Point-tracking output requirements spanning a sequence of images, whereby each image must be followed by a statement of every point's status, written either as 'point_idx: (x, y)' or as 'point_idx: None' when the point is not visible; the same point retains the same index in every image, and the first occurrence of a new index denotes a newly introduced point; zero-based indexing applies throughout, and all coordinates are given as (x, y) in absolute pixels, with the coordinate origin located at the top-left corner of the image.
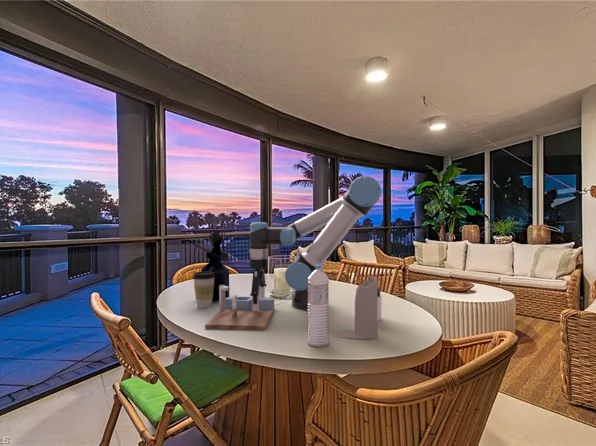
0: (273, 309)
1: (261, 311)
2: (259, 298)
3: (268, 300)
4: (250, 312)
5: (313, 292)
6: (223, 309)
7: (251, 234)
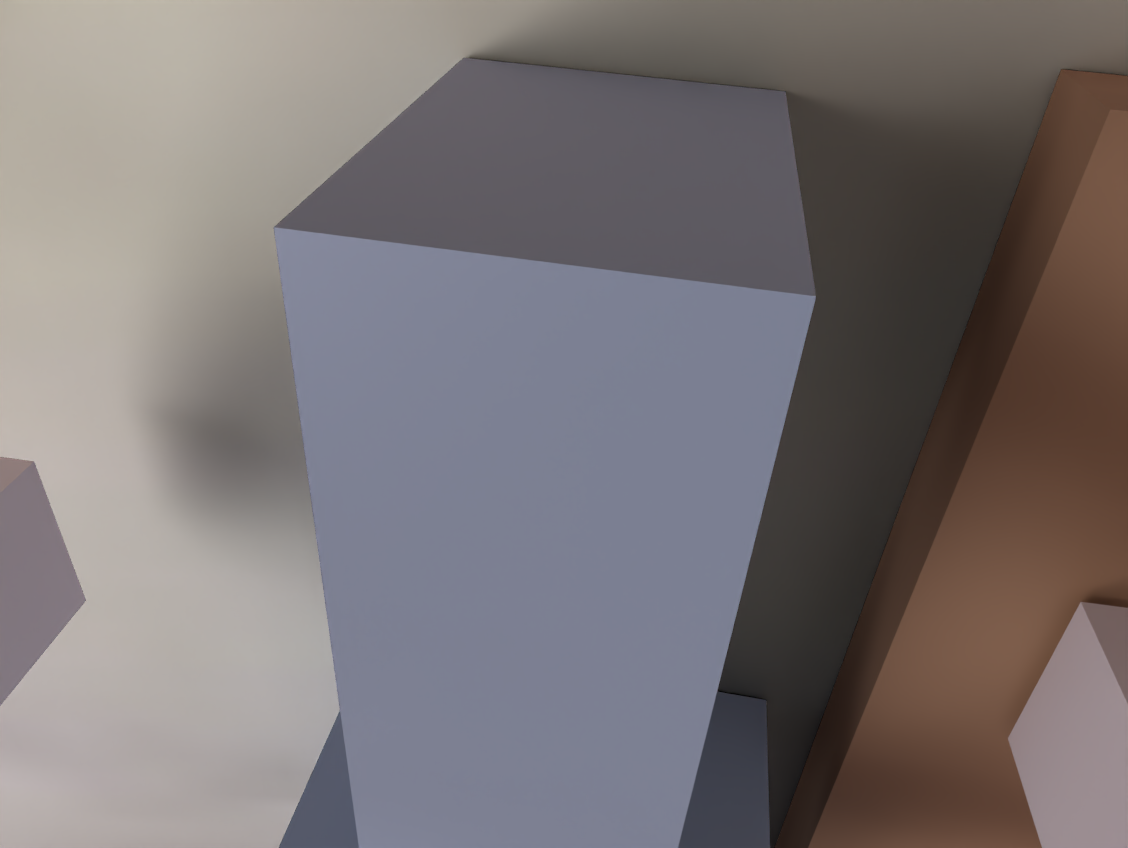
0: (695, 100)
1: (1122, 530)
2: (451, 795)
3: (759, 517)
4: None
5: None
6: None
7: None
